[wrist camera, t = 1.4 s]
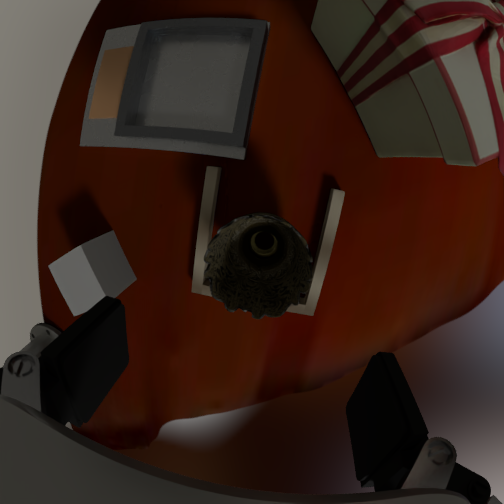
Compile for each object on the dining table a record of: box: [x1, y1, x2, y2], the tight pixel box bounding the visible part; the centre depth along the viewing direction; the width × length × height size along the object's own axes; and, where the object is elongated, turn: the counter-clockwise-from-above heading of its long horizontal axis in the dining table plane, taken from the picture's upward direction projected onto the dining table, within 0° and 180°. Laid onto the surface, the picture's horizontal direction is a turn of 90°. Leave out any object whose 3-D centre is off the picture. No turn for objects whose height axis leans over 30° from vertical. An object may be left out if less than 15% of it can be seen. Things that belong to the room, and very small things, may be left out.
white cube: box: [49, 230, 136, 316], centre depth 26 cm, size 6×6×6 cm
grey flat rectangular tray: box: [80, 18, 270, 160], centre depth 21 cm, size 14×18×3 cm
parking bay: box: [192, 166, 345, 316], centre depth 25 cm, size 12×12×2 cm
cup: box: [204, 213, 313, 319], centre depth 22 cm, size 8×7×8 cm
